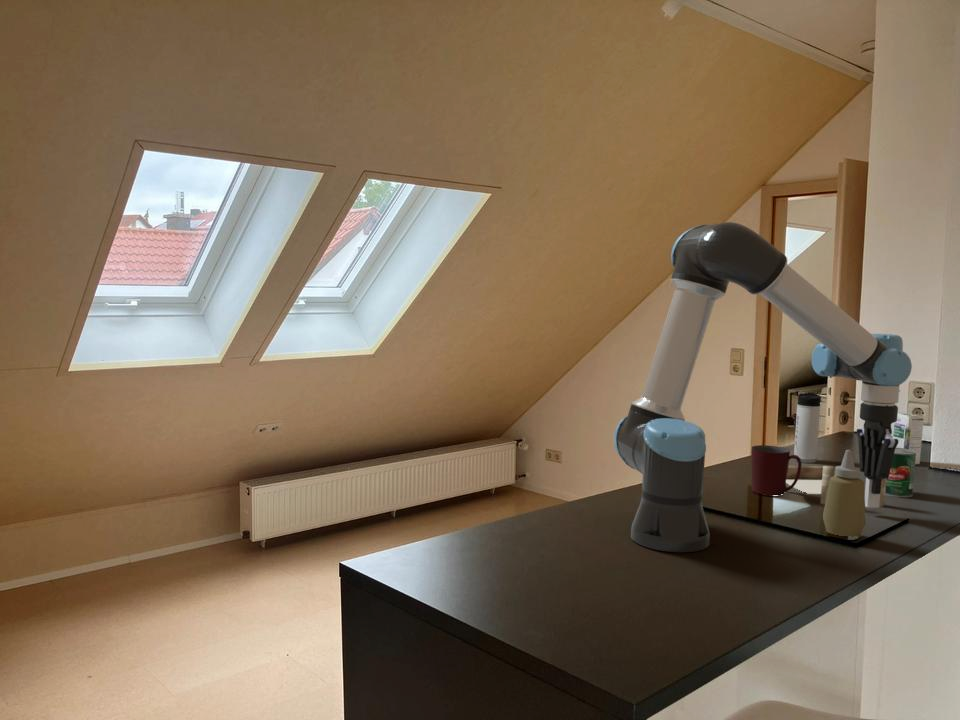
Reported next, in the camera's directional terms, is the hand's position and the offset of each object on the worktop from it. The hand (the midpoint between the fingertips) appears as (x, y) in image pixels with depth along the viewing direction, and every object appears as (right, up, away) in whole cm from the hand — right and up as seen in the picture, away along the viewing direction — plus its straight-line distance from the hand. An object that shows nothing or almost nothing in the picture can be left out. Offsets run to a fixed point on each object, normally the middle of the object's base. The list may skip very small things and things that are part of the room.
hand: (871, 506), depth 180 cm
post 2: (+6, -1, +9) cm, 10 cm away
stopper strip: (-2, +1, +34) cm, 34 cm away
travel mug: (+8, +3, +56) cm, 56 cm away
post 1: (-7, -1, +8) cm, 10 cm away
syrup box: (+38, +2, +56) cm, 68 cm away
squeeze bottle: (-14, -3, -17) cm, 22 cm away
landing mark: (-1, 0, +24) cm, 24 cm away
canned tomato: (+16, -1, +20) cm, 26 cm away
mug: (-16, 0, +16) cm, 23 cm away
